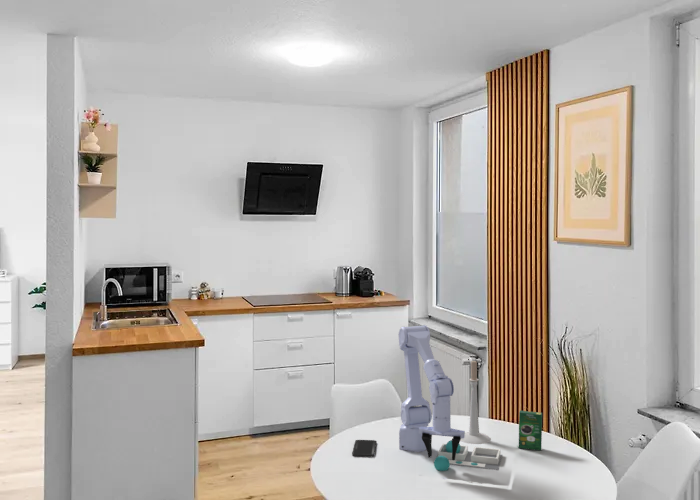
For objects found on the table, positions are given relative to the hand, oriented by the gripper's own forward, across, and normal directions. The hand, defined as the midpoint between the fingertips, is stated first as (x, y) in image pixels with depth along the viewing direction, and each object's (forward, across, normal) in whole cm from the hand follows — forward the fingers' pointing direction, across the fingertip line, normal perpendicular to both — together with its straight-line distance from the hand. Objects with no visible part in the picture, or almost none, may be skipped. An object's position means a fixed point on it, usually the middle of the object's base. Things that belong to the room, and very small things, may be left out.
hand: (441, 457), depth 202 cm
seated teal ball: (+3, +1, +13) cm, 14 cm away
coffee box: (+5, +26, +30) cm, 40 cm away
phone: (+5, -30, +12) cm, 33 cm away
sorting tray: (+4, +7, +11) cm, 14 cm away
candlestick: (+5, +6, +32) cm, 33 cm away
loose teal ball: (+4, 0, 0) cm, 5 cm away
